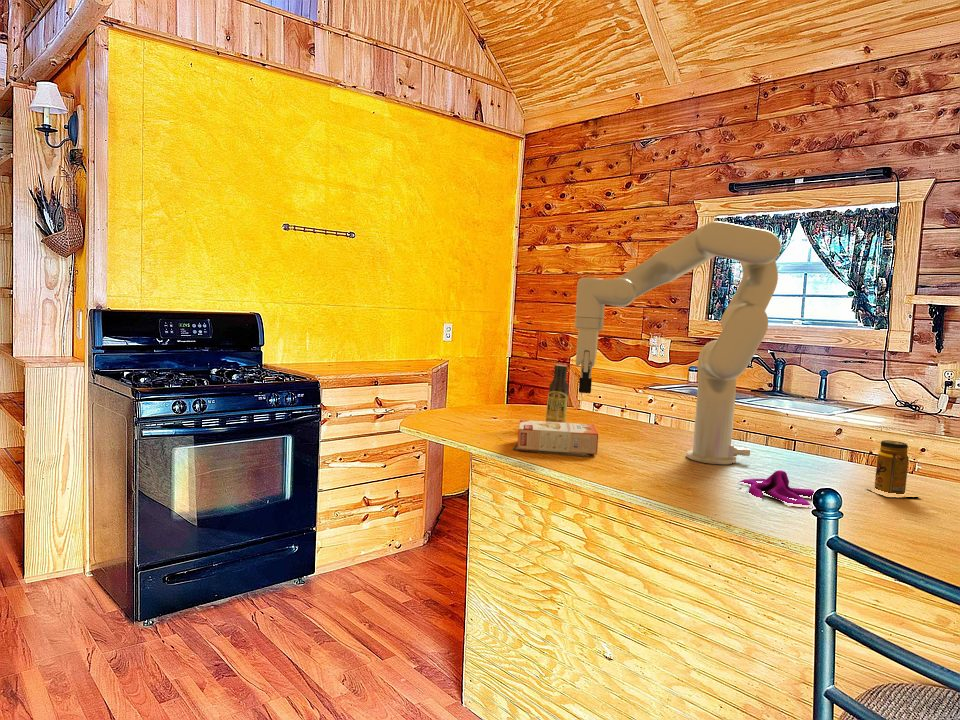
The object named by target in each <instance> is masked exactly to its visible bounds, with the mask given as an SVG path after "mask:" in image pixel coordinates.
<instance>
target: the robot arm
mask: <svg viewBox="0 0 960 720" xmlns="http://www.w3.org/2000/svg"><path fill="white" fill-rule="evenodd" d="M780 241H781V240H780V239H779V237H778V236H777V235H776V234H775V233H773V232H772V231H770V230H767V229H762V228H756V227H752V226H745V225H741V224H735V223H730V222H724V221H717V220H716V221H715V220H714V221H710V222H708V223H705V224H704V225H702V226H700V227H698V228H697V229H695V230H693V231H692V232H690V233H688V234H686V235H685V236H683V237H681V238H680V239H678V240H676V241H674V242H673V243H671V244H669V245H667V246H665V247H664V248H662V249H660V250H659V251H658V252H656V253H654V254H653V255H652V256H650V257H649V258H647V259H646V260H645V261H644V262H642V263H640V264H639V265H637V266H635V267H634V268H631V269H630V270H628V271H626V272H625V273H624V274H622V275H620V276H618V277H615V278H605V279H604V278H600V277H581V278H579V279H578V281H577V283H576V284H577V285H576V302H575V317H574V319H575V320H574V330H578V331H577V338H576V339H577V340H576V341H577V342H576V354H575V355H576V356H575V357H576V358H575V367H577V368H579V366H580V377H579V383H578V393H579V394H591V393H592V384H593V383H592V382H593V378H592V371H593V370H592V369H593V368H594V367H595V363H596V358H597V355H598V354H597V352H598V343H599V342H598V341H599V332H601V331H602V332H603V331H604V322H605V321H604V320H605V306H606V305H607V306H612V307H617V308H625V307H627V306H629V305H631V304H632V303H633V302H634V301H635V300H636V299H637V298H639V297H641V296H642V295H644V294H645V293H648V292H650V291H651V290H653V289H655V288H657V287H660V286H662V285H664V284H666V285H667V284H668V283H671V282H673V281H675V280H677V279H679V278H681V277H682V276H685V275H686V274H687V273H689V272H690V271H692V270H694V269H696V268H698V267H700V266H701V265H703V264H705V263H707V262H708V261H710V260H711V259H714V258H715V257H721V258H726V259H729V260H734V261H739V263H740V264H741V267H742V277H741V280H740V283H739V285H738V287H737V289H736V291H735V293H734V295H733V297H732V298H731V300H730V302H729V304H728V305H727V307H726V308H725V310H724V312H723V314H722V315H721V320H720V326H721V329H722V330H721V333H720V334H719V336H718V338H717V339H713V340H711V341H709V342H707V343H706V344H705V345H704V346H702V348H701V349H700V352H699V355H698V358H697V359H698V360H697V393H696V395H697V396H696V404H695V405H696V406H695V416H694V419H695V420H694V431H693V443H692V449H689V450H687V451H686V452H685V454H686V455H685V456H686V458H688V459H690V460H692V461H694V462H698V463H699V462H700V463H704V464H709V465H710V464H712V465H732V463H733V464H735V463H736V462H737V456H743V457H750V455H751V449H750V448H744V447H740V446H739V447H738V446H735V445H734V444H733V443H732V440H733V429H734V416H735V405H736V404H735V403H736V395H737V393H736V392H737V378H739V377H740V376H741V375H742V374H743V373H744V372H745V371H746V370H747V368H748V366H749V364H750V363H751V361H752V359H753V358H754V356H755V353H756V352H757V350H758V348H759V347H760V345H761V343H762V341H763V339H764V338H765V336H766V333H767V330H768V327H769V318H768V314H767V312H766V309H767V308H768V306H769V304H770V302H771V300H772V297H773V296H774V293H775V290H776V289H777V285H778V281H779V280H778V279H779V274H778V273H779V271H778V266H777V262H776V260H777V258H778V257H779V255H780V253H781V250H782V247H781V246H782V244H781V242H780Z"/></svg>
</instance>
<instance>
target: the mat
mask: <svg viewBox="0 0 960 720" xmlns="http://www.w3.org/2000/svg"><path fill="white" fill-rule="evenodd" d="M512 450H513V451H520V452H528V451H529V452H531V453H540V452H541V453H542V454H551V453H552V454H553V455H554V454H555V455H561V456H562V455H563V456H564V455H565V456H575V457H585V458H590V457H591V454H583V453H568V452H553V451H538V450H523V449H518V441H517V442H516V443H515V445H514V446H513V448H512Z"/></svg>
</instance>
